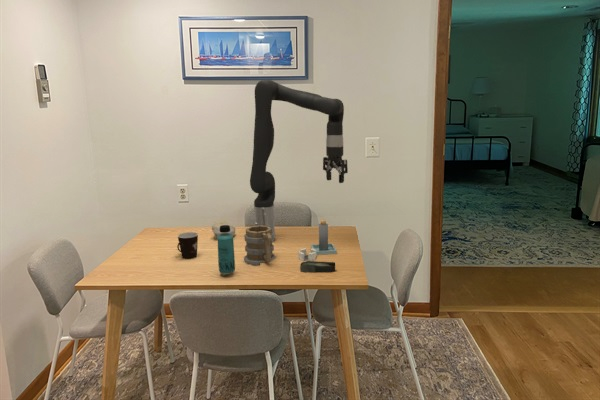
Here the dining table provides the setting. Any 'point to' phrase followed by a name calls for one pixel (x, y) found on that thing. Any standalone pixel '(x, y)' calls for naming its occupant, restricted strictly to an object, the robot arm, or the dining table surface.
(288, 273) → the dining table surface
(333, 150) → the robot arm
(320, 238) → the grey tan rounded cylinder
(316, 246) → the tray
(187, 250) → the coffee mug
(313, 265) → the mobile phone
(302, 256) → the round holder stand
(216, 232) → the fossil replica
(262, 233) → the tankard
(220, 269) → the beverage bottle
